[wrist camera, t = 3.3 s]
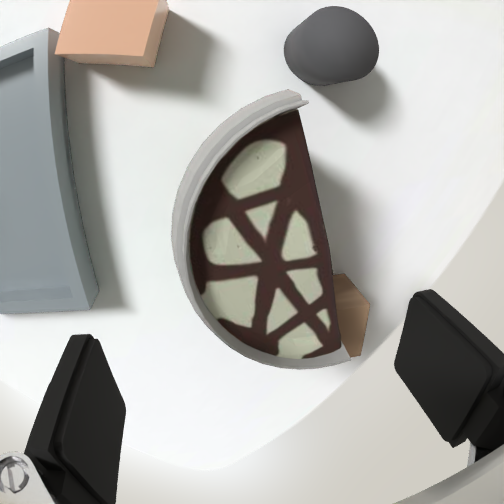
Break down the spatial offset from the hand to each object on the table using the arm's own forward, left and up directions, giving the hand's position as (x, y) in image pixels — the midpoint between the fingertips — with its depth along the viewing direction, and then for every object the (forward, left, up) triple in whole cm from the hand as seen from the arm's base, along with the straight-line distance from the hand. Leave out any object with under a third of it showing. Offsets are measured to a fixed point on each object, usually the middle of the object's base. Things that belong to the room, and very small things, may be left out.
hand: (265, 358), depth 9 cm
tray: (+16, -4, -13) cm, 21 cm away
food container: (0, -1, -14) cm, 14 cm away
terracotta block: (+6, -12, -13) cm, 19 cm away
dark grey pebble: (-6, -10, -13) cm, 18 cm away
